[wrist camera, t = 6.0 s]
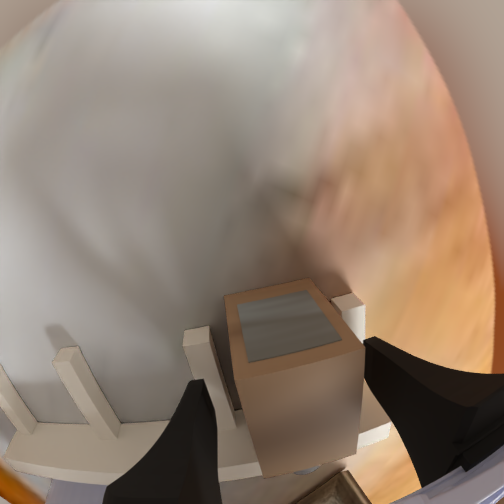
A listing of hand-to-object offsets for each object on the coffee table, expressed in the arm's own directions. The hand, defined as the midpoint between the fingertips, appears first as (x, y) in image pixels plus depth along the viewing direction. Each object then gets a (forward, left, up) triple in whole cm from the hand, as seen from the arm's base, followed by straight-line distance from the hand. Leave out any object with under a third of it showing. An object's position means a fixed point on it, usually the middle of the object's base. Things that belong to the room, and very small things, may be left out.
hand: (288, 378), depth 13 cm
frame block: (0, 0, -3) cm, 3 cm away
